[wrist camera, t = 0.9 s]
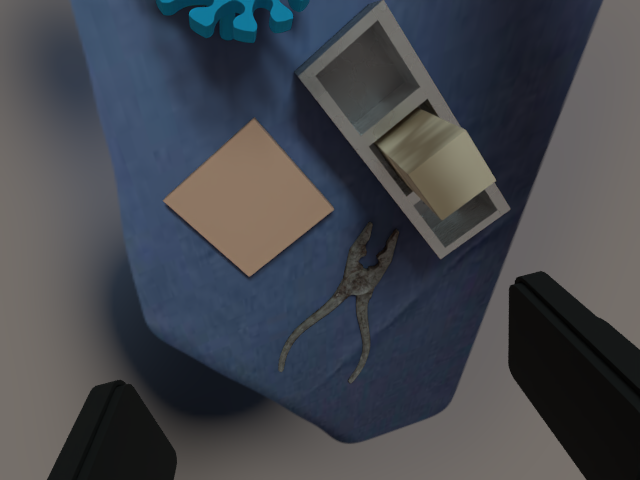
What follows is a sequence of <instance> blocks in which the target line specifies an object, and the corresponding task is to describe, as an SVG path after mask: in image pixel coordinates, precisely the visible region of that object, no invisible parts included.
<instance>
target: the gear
mask: <svg viewBox="0 0 640 480" xmlns="http://www.w3.org/2000/svg"><path fill="white" fill-rule="evenodd" d="M288 2H289V5H290V7H291V8H292V9H293V10H295V11H297V12H301V11H303V10H304V9H305V8H306V7H307V5H308V3H309V0H288ZM156 4H157V6H158V8H159V10H160V11H161V12H162V14H163V15H173V14H175V13H176V12H177V11H179V10H180V9H182V8H184V7H187V6H193V5H206V6H209V7H196V8H194V9H192V10H191V11H190V12H189V23H190V28H191V29H192V30H193V31H195V32H196V33H197V34H199V35H201V36H203V37H205V38H209V37H211V36H212V35H213V33H214V29H215V26H216V24H217V22H218V21H219V20H220V36H221V38H222V39H224V40H232V39H233V38H234V39H235V40H238V41H241V42H247V43H254V42H255V40H256V34H257V23H256V21H255V19H254V17H253V13H254V11H255V10H256V9H257V8H265V9H267V10H269V11H270V20H269V27H270V29H271V30H272V32H274V33H281V32H285V31H288V30H290V29H291V26H292V21H293V14H292V12H291V11H290V10H289V9H288V8H286V7H285V6H284V5H283V4H282V3H281V2H280V1H279V0H156ZM235 13H239V14H240V15H239V16H237V17H236V18H235Z"/></svg>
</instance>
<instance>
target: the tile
mask: <svg viewBox="0 0 640 480" xmlns="http://www.w3.org/2000/svg"><path fill="white" fill-rule="evenodd" d="M163 201H164V202H165V203H166V204H167V205H168V206H169V207H171V208H172V209H173V210H174V211H175V212H176V213H177V214H178V215H180V216H181V217H182V218H183V219H184V220H185V221H186V222H188V223H189V224H190V225H191V226H192V227H193V228H194V229H196V230H197V231H198V232H199V233H200V234H201V235H202V236H203V237H205V238H206V239H207V240H208V241H209V242H210V243H211V244H213V245H214V246H215V247H216V248H217V249H218V250H219V251H220V252H222V253H223V254H224V255H225V256H226V257H227V258H228V259H230V260H231V261H232V262H233V263H234V264H235V265H236V266H237V267H239V268H240V269H241V270H242V271H243V272H244V273H245V274H247V275H248V276H249V277H250V276H251V275H252V274H254V273H255V272H256V271H258V270H259V269H260V268H261V267H263V266H264V265H265V264H266V263H268V262H269V261H270V260H271V259H273V258H274V257H275V256H276V255H278V254H279V253H280V252H281V251H283V250H284V249H285V248H286V247H288V246H289V245H290V244H292V243H293V242H294V241H295V240H297V239H298V238H299V237H300V236H302V235H303V234H304V233H305V232H307V231H308V230H309V229H310V228H312V227H313V226H314V225H315V224H317V223H318V222H319V221H320V220H322V219H323V218H324V217H325V216H327V215H328V214H329V213H331V212H332V211H333V210H334V208H333V206H332V205H331V203H330V202H329V201H328V200H327V199H326V198H325V197H324V196H323V194H322V193H321V192H320V191H319V190H318V189H317V188H316V186H315V185H314V184H313V183H312V182H311V181H310V180H309V178H308V177H307V176H306V175H305V174H304V173H303V172H302V171H301V169H300V168H299V167H298V166H297V165H296V164H295V163H294V161H293V160H292V159H291V158H290V157H289V156H288V155H287V154H286V152H285V151H284V150H283V149H282V148H281V147H280V146H279V144H278V143H277V142H276V141H275V140H274V139H273V138H272V136H271V135H270V134H269V133H268V132H267V131H266V130H265V129H264V127H263V126H262V125H261V124H260V123H259V122H258V121H257V119H256V118H255V117H254V118H253V119H252V120H250V121H249V122H248V123H247V124H246V125H245V126H244V127H243V128H242V129H241V130H239V131H238V132H237V133H236V134H235V135H234V136H233V137H232V138H231V139H229V140H228V141H227V142H226V143H225V144H224V145H223V146H222V147H221V148H219V149H218V150H217V151H216V152H215V153H214V154H213V155H212V156H211V157H209V158H208V159H207V160H206V161H205V162H204V163H203V164H202V165H201V166H199V167H198V168H197V169H196V170H195V171H194V172H193V173H192V174H191V175H190V176H188V177H187V178H186V179H185V180H184V181H183V182H182V183H181V184H180V185H178V186H177V187H176V188H175V189H174V190H173V191H172V192H171V193H170V194H168V195H167V196H166V197H165V199H164V200H163Z"/></svg>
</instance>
